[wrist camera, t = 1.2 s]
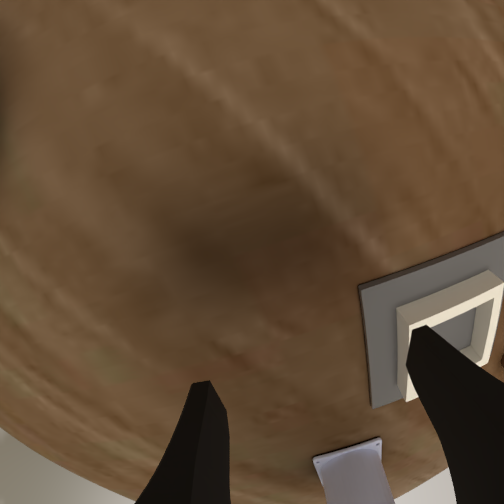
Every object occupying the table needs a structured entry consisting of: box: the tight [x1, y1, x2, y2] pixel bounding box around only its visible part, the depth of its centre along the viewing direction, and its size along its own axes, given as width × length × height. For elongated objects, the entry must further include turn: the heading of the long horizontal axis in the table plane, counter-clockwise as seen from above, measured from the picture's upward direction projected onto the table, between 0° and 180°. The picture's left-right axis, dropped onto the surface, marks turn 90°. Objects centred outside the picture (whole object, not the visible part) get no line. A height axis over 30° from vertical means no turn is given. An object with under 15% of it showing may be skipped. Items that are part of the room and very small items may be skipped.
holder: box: [358, 232, 504, 409], centre depth 22 cm, size 14×14×3 cm
